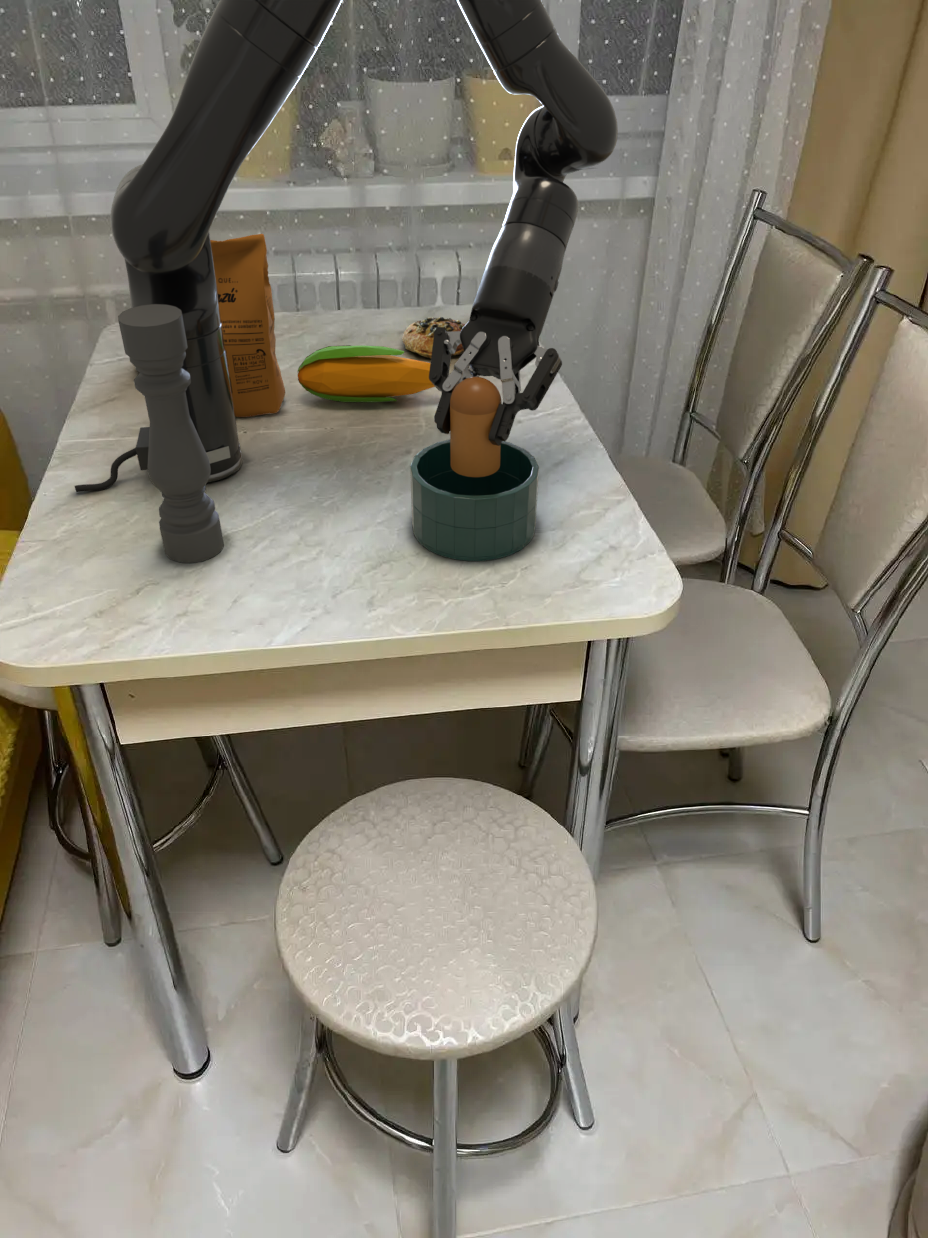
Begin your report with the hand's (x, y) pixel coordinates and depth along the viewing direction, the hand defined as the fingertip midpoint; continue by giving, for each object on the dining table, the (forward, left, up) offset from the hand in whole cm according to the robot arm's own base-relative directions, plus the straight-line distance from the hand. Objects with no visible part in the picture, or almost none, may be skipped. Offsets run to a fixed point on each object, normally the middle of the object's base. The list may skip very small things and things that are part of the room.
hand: (468, 436), depth 99 cm
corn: (-7, +36, -12) cm, 39 cm away
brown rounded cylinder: (+1, +1, -4) cm, 5 cm away
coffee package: (-25, +37, -12) cm, 46 cm away
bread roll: (+4, +53, -12) cm, 54 cm away
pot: (+1, +1, -12) cm, 12 cm away
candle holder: (-29, +2, -12) cm, 31 cm away
